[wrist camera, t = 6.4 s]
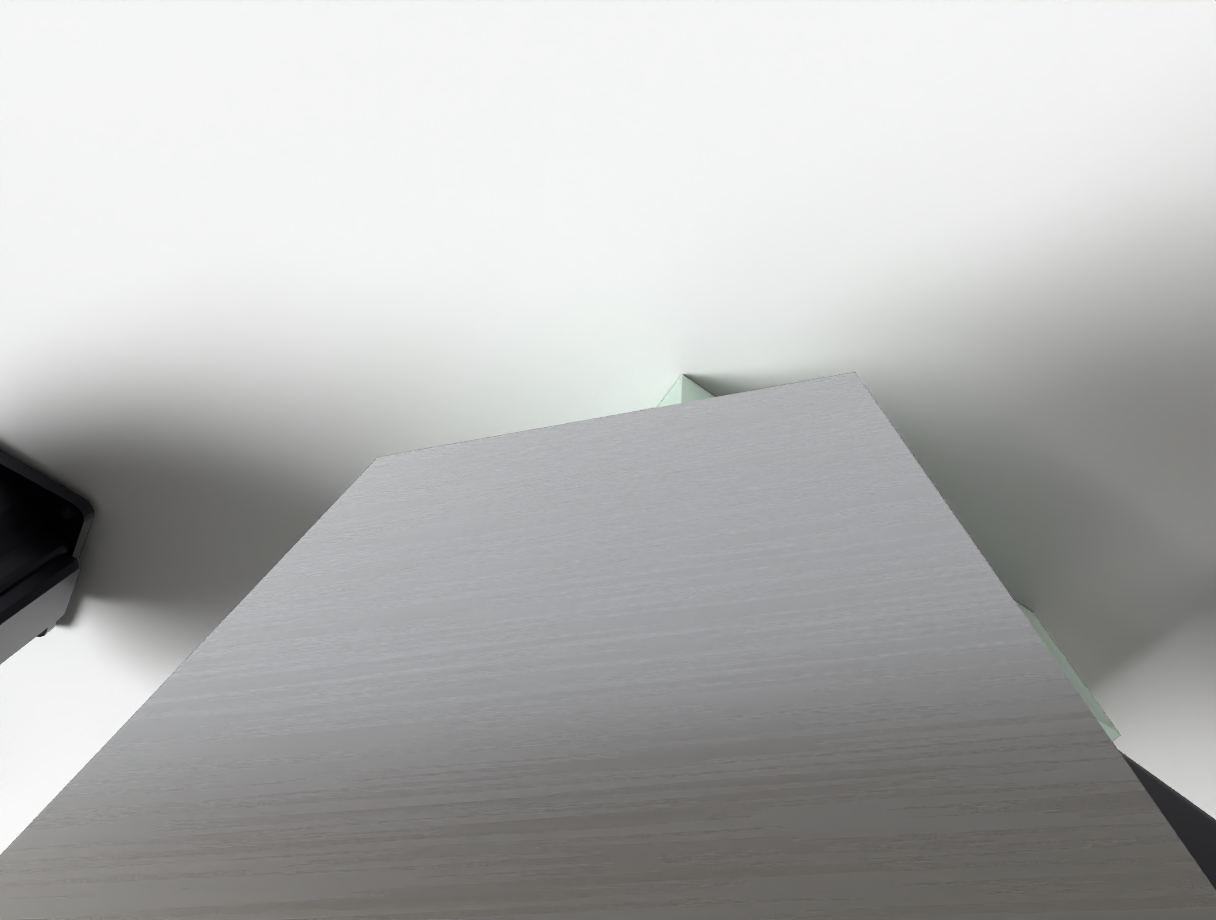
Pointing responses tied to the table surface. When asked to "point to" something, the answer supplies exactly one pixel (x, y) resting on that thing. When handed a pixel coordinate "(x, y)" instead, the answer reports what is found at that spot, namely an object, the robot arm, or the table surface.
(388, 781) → the tin
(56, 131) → the table surface
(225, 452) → the table surface
